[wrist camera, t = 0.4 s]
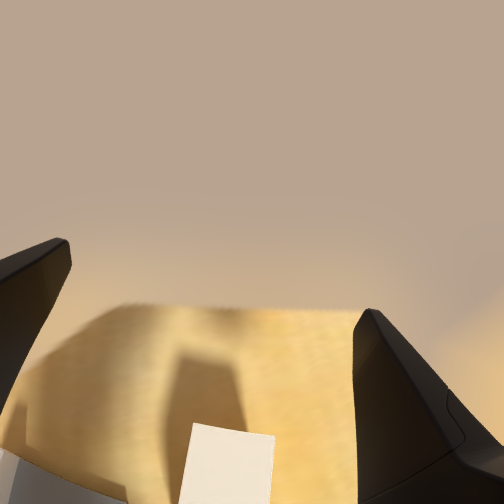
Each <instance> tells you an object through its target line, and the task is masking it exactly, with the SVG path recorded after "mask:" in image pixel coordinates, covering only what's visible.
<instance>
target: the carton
mask: <svg viewBox="0 0 504 504" xmlns="http://www.w3.org/2000/svg"><path fill="white" fill-rule="evenodd" d="M274 446H275V436H272V435H264V434H256V433H249V432H242V431H236V430H230V429H224V428H219V427H213V426H208V425H203V424H198V423H193V428H192V432H191V437H190V441H189V447H188V452H187V457H186V463H185V468H184V473H183V479H182V484H181V490H180V496H179V501H178V504H269V500H270V490H271V479H272V469H273V458H274Z"/></svg>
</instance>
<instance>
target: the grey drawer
mask: <svg viewBox="0 0 504 504" xmlns="http://www.w3.org/2000/svg"><path fill="white" fill-rule="evenodd" d="M0 504H128V502H124V501H121V500H118V499H115V498H112V497H109V496H106V495H103V494H100V493H98V492H95V491H92V490H90V489H87V488H84V487H82V486H79V485H77V484H75V483H72V482H70V481H68V480H65V479H63V478H61V477H59V476H56V475H54V474H52V473H50V472H48V471H46V470H44V469H42V468H40V467H38V466H36V465H34V464H32V463H30V462H28V461H26V460H24V459H23V458H21V457H19V456H17V455H15V454H13V453H11V452H9V451H7V450H5V449H3V448H1V447H0Z"/></svg>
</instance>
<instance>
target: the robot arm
mask: <svg viewBox="0 0 504 504" xmlns="http://www.w3.org/2000/svg"><path fill="white" fill-rule="evenodd" d="M71 266H72V261H71V254H70V245H69V242H68V241H67V240H65V239H62V238H54V239H51V240H49V241H46V242H43V243H41V244H38V245H36V246H33V247H30V248H28V249H26V250H23V251H20V252H18V253H16V254H13V255H11V256H9V257H6V258H4V259H1V260H0V415H1V413H2V410H3V408H4V405H5V403H6V400H7V398H8V396H9V393H10V391H11V389H12V387H13V384H14V382H15V380H16V378H17V376H18V373H19V371H20V369H21V367H22V365H23V363H24V361H25V359H26V357H27V355H28V353H29V351H30V349H31V347H32V345H33V343H34V341H35V339H36V337H37V336H38V334H39V332H40V330H41V328H42V326H43V324H44V323H45V321H46V319H47V317H48V315H49V313H50V312H51V310H52V308H53V306H54V304H55V302H56V299H57V297H58V295H59V293H60V291H61V289H62V286H63V284H64V282H65V280H66V278H67V276H68V274H69V271H70V270H71ZM352 374H353V392H354V406H355V421H356V441H357V471H358V504H504V446H502V445H501V444H500V443H499V442H498V441H497V440H496V439H495V438H494V437H493V436H492V435H491V434H490V432H489V431H488V430H487V429H486V428H485V427H484V426H483V425H482V424H481V423H480V422H479V421H478V420H477V419H476V418H475V417H474V416H473V415H472V414H471V413H470V412H469V410H468V409H467V408H466V407H465V406H464V405H463V404H462V403H461V401H460V400H459V399H458V398H457V397H456V396H455V395H454V393H453V392H452V391H451V390H450V389H448V386H447V385H446V384H445V383H444V382H443V380H442V379H441V378H440V377H439V376H438V375H437V374H436V372H435V371H434V370H433V369H432V368H431V367H430V366H429V364H428V363H427V362H426V361H425V360H424V359H423V358H422V357H421V355H420V354H419V353H418V352H417V351H416V350H415V349H414V348H413V346H412V345H411V344H410V343H409V342H408V341H407V340H406V339H405V338H404V337H403V335H401V333H400V332H399V331H398V330H397V329H396V328H395V327H394V326H393V325H392V324H391V323H390V321H389V320H388V319H387V318H386V317H385V316H384V315H383V314H382V313H381V312H380V311H379V310H375V309H369V308H368V309H366V310H365V311H364V312H363V314H362V316H361V317H360V319H359V321H358V323H357V324H356V326H355V328H354V331H353V371H352Z"/></svg>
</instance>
